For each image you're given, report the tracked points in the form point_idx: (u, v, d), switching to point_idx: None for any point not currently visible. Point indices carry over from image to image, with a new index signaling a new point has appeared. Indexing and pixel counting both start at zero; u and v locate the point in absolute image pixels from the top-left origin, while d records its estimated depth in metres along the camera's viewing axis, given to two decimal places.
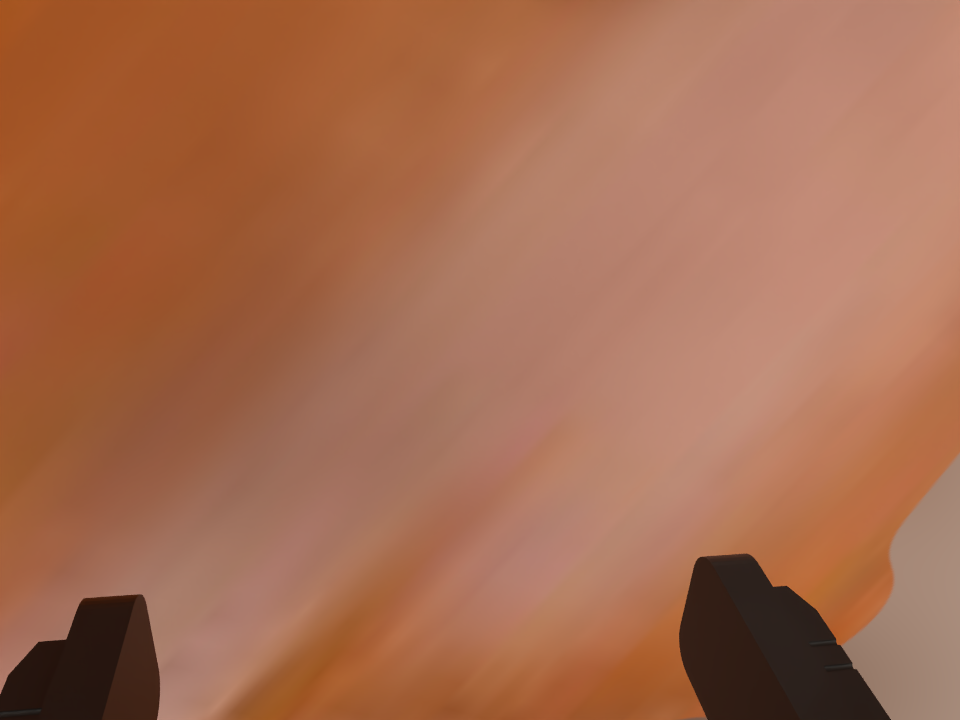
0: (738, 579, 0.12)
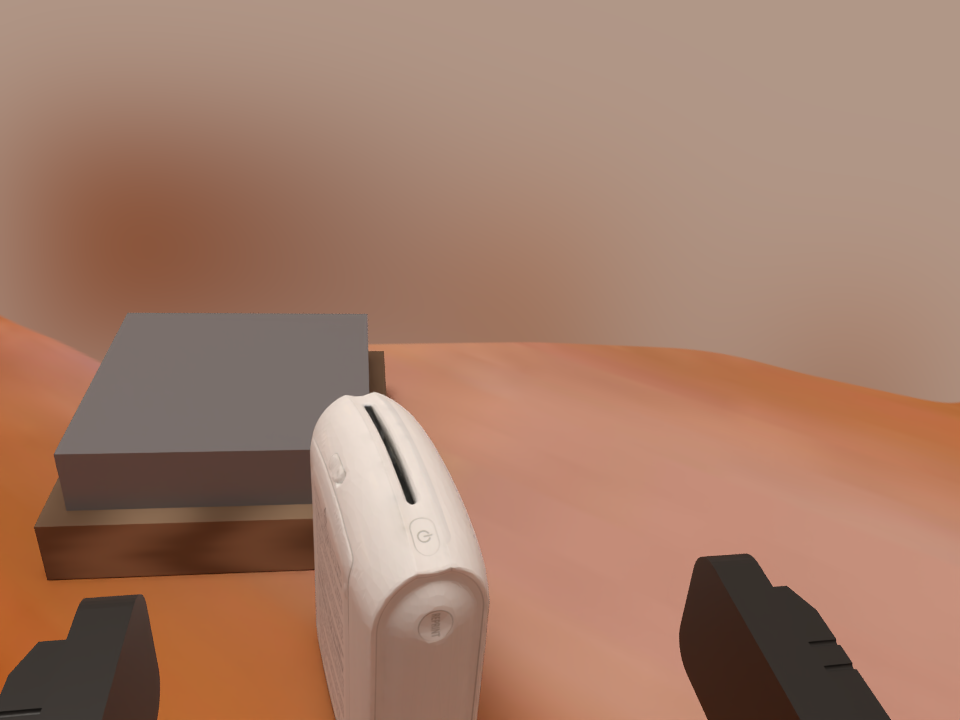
0: (738, 579, 0.12)
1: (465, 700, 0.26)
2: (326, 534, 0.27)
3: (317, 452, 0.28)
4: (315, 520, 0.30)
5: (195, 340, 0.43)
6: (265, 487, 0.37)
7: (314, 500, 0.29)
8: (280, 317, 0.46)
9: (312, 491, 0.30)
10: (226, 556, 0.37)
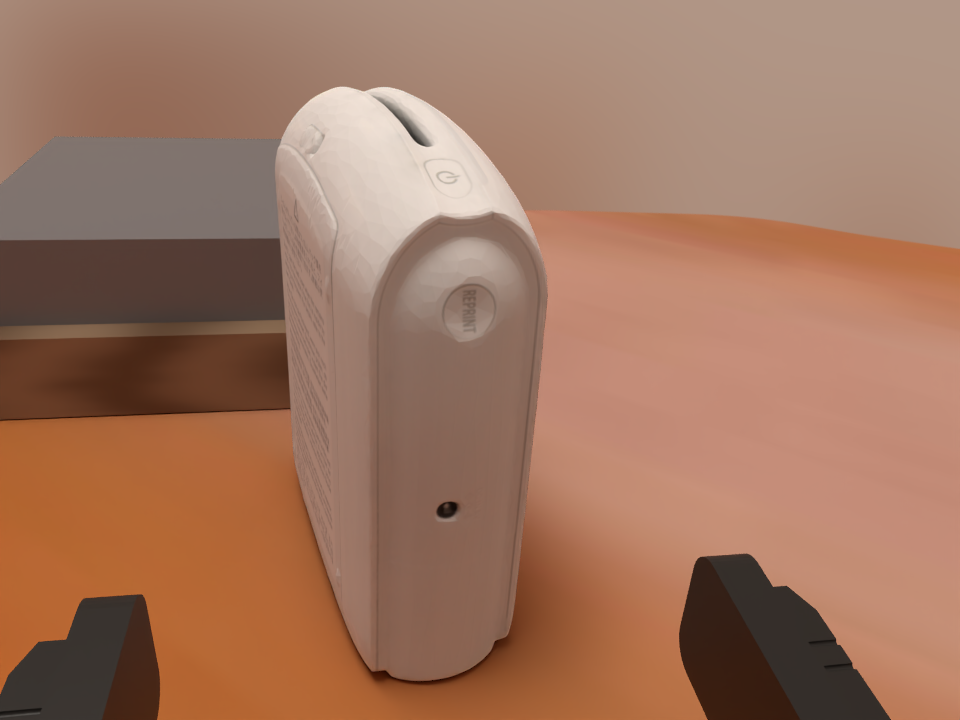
0: (738, 579, 0.12)
1: (510, 471, 0.18)
2: (298, 244, 0.18)
3: (284, 148, 0.20)
4: (285, 267, 0.21)
5: (137, 156, 0.35)
6: (223, 294, 0.28)
7: (282, 234, 0.21)
8: (243, 141, 0.38)
9: (280, 228, 0.21)
10: (175, 388, 0.28)
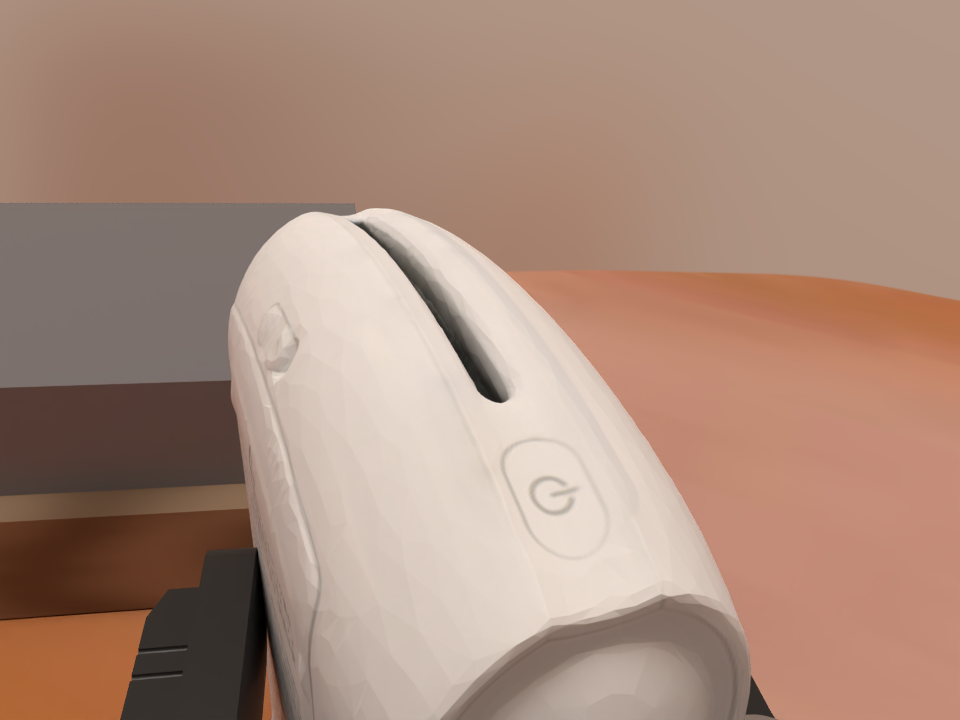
0: None
1: None
2: (258, 517, 0.10)
3: (236, 323, 0.12)
4: None
5: (80, 234, 0.27)
6: (179, 453, 0.20)
7: None
8: (220, 207, 0.30)
9: None
10: (112, 581, 0.20)
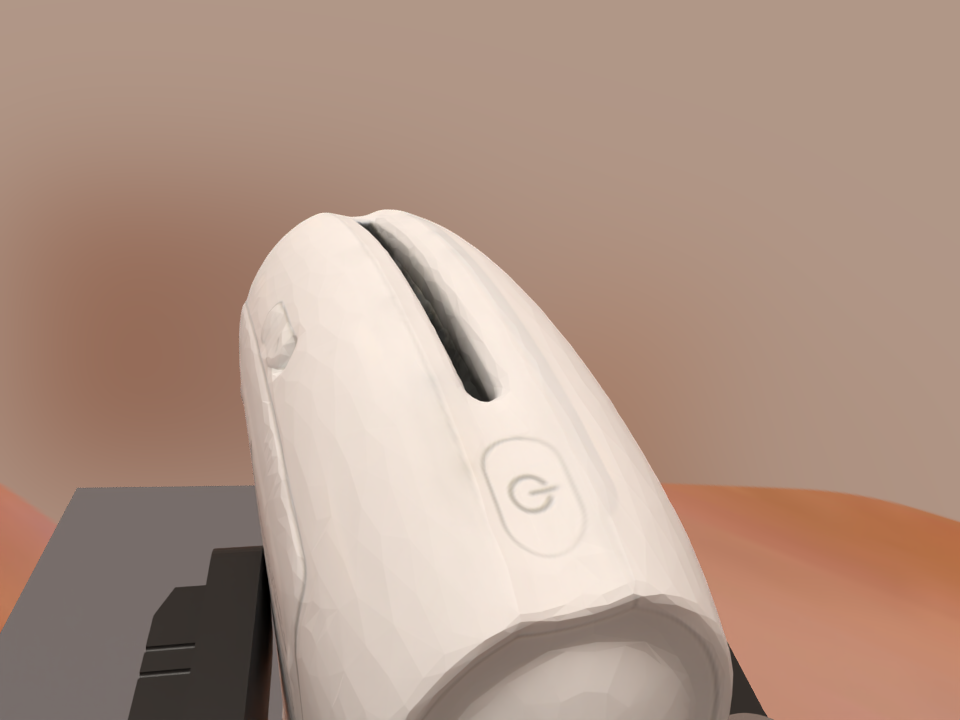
0: None
1: None
2: (259, 511, 0.10)
3: (245, 321, 0.12)
4: None
5: (166, 540, 0.30)
6: None
7: None
8: None
9: None
10: None
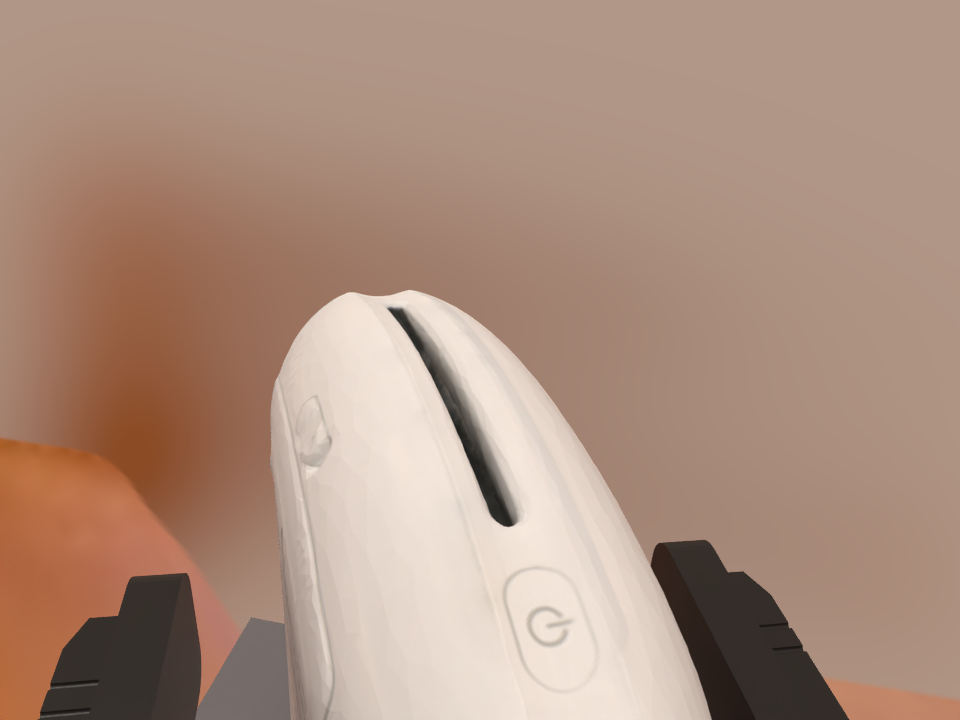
0: (693, 564, 0.12)
1: None
2: (286, 592, 0.11)
3: (279, 402, 0.12)
4: None
5: None
6: None
7: None
8: None
9: None
10: None
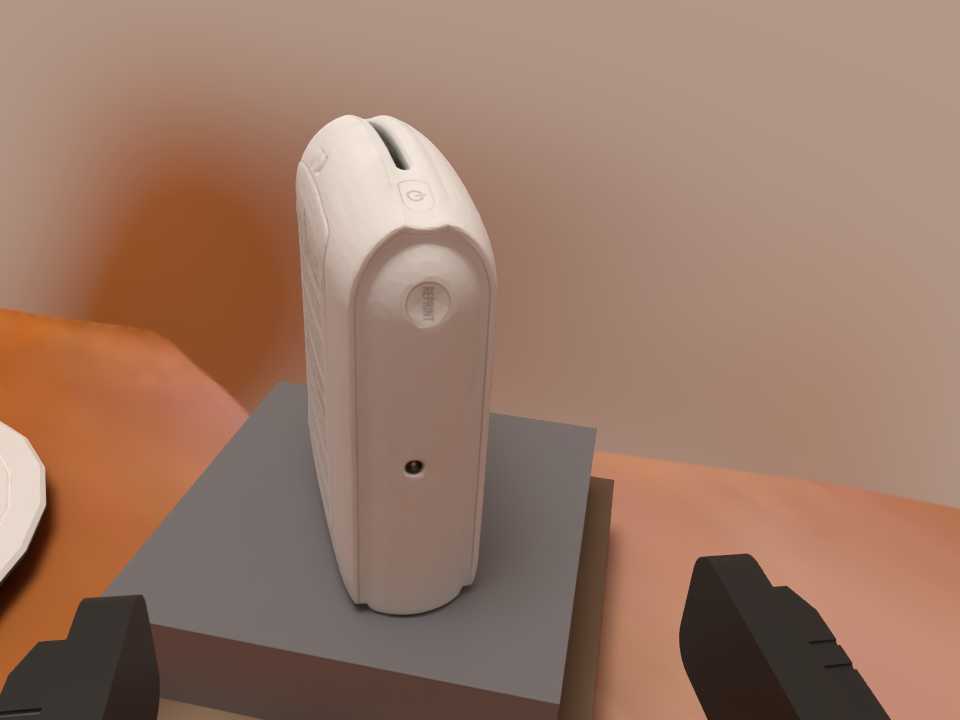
0: (738, 579, 0.12)
1: (470, 439, 0.21)
2: (306, 245, 0.22)
3: (301, 165, 0.24)
4: (301, 264, 0.25)
5: None
6: None
7: (299, 236, 0.25)
8: None
9: None
10: None
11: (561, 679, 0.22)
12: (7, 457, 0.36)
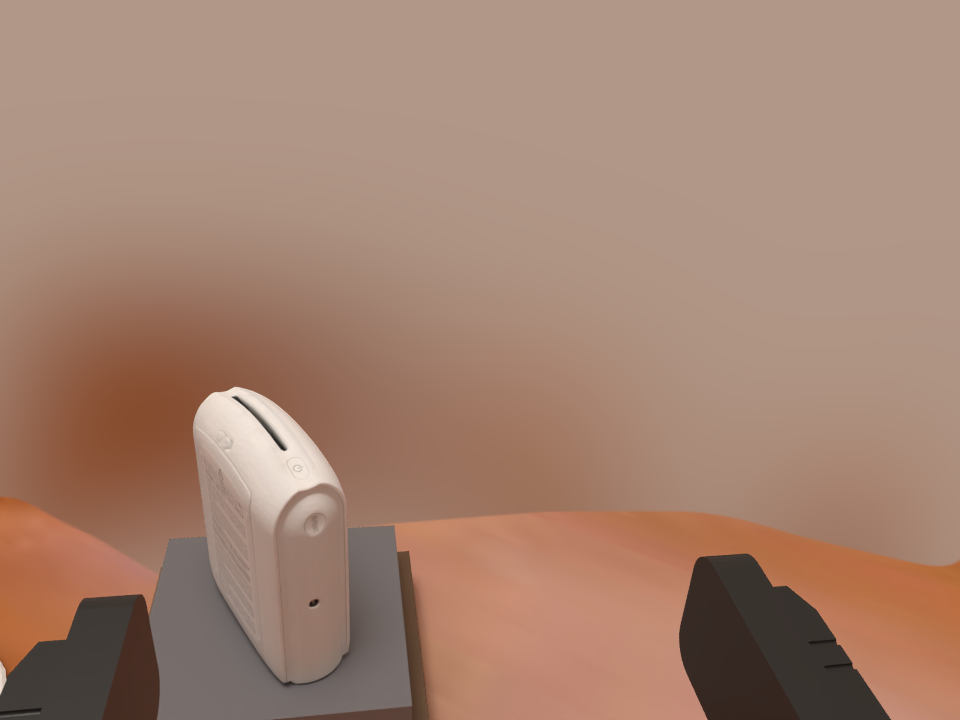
0: (738, 579, 0.12)
1: (339, 578, 0.39)
2: (223, 488, 0.38)
3: (204, 434, 0.39)
4: (207, 486, 0.40)
5: None
6: None
7: (204, 471, 0.40)
8: None
9: (201, 465, 0.41)
10: None
11: (410, 692, 0.40)
12: None
